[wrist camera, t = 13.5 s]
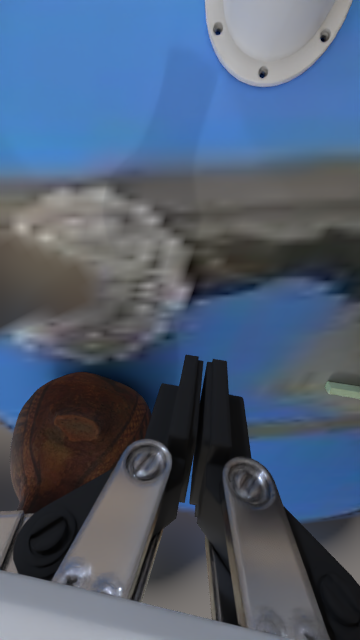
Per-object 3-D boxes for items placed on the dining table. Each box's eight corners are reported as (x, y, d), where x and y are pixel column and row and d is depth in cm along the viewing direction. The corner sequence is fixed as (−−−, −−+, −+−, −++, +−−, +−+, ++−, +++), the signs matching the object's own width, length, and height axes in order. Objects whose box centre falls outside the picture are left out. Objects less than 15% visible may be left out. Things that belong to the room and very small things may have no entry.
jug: (185, 432, 47) (141, 747, 20) (94, 456, 53) (-34, 718, 26) (123, 337, 40) (-75, 619, 13) (27, 377, 46) (-240, 622, 19)
